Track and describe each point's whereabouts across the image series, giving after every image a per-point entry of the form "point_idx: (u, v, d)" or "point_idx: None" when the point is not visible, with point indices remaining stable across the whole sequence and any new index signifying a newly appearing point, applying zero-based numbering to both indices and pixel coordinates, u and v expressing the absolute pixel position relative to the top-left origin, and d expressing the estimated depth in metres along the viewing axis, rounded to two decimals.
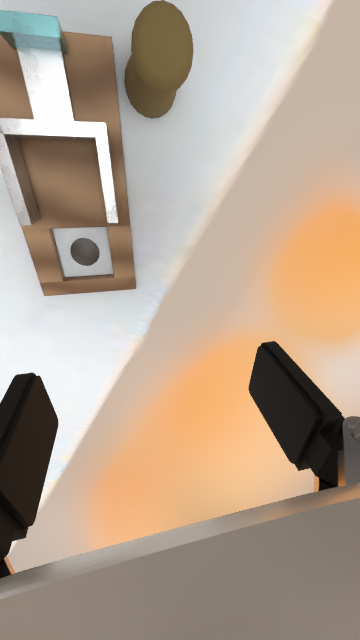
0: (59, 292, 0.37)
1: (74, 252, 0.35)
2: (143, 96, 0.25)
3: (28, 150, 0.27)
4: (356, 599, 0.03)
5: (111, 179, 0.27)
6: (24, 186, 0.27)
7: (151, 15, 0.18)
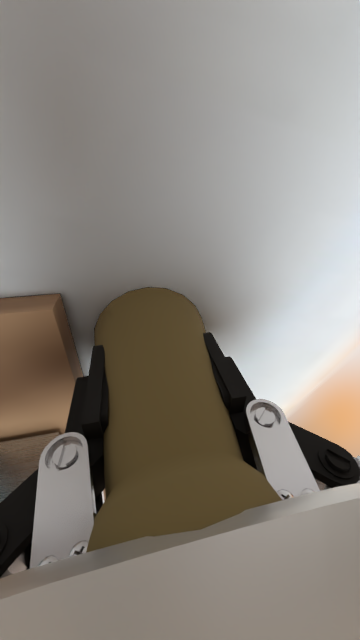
0: None
1: None
2: None
3: None
4: (356, 599, 0.03)
5: None
6: None
7: None
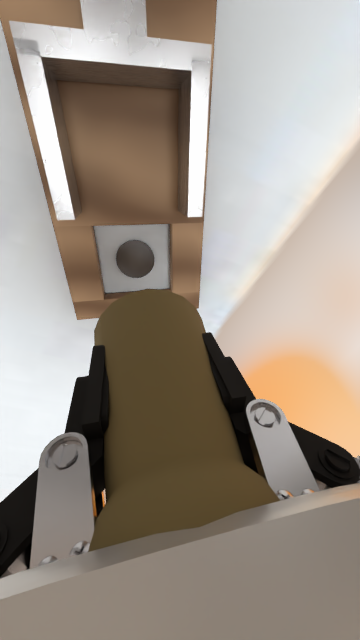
0: (98, 314, 0.27)
1: (121, 259, 0.25)
2: None
3: (70, 102, 0.17)
4: (356, 599, 0.03)
5: (204, 147, 0.17)
6: (65, 157, 0.17)
7: None
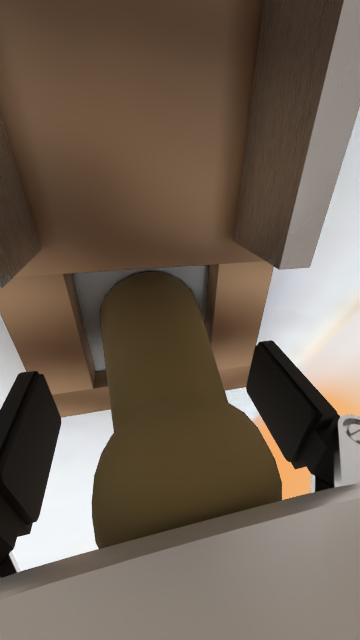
0: (84, 409, 0.16)
1: None
2: None
3: None
4: (356, 598, 0.03)
5: (359, 90, 0.06)
6: None
7: None
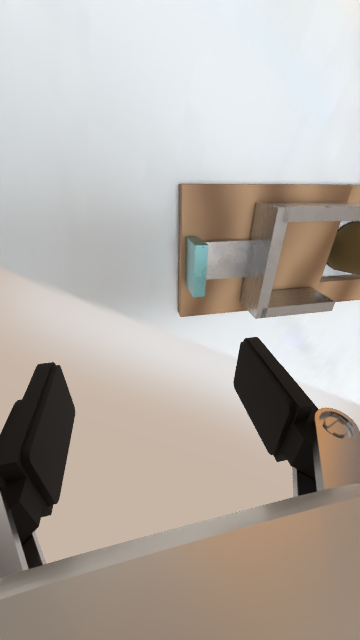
0: None
1: None
2: None
3: None
4: (356, 599, 0.03)
5: (329, 208, 0.21)
6: (298, 298, 0.27)
7: None
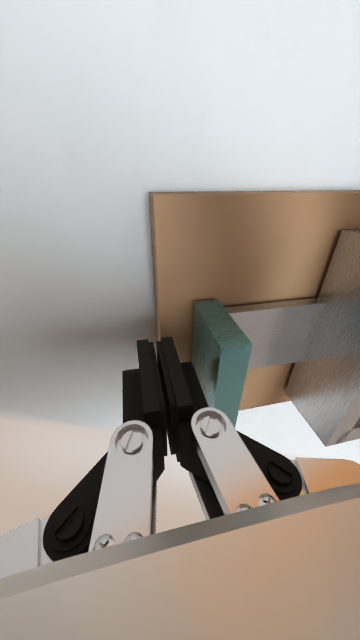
0: None
1: None
2: None
3: None
4: (356, 598, 0.03)
5: None
6: None
7: None
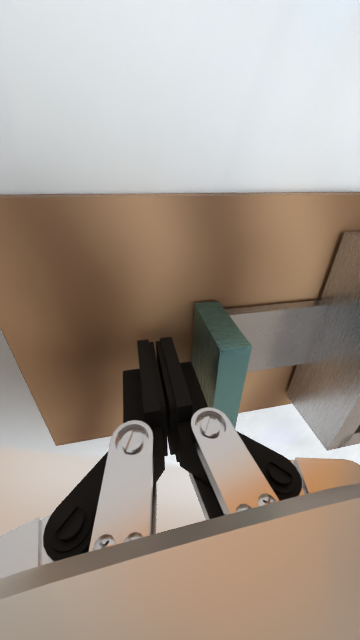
0: None
1: None
2: None
3: None
4: (356, 599, 0.03)
5: None
6: None
7: None
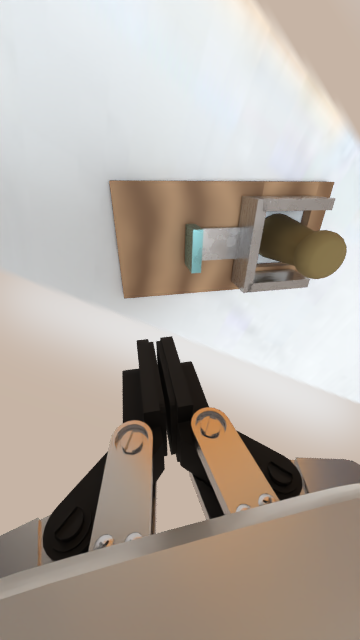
0: None
1: None
2: None
3: None
4: (355, 598, 0.03)
5: (299, 200, 0.26)
6: (279, 277, 0.33)
7: (314, 269, 0.25)
